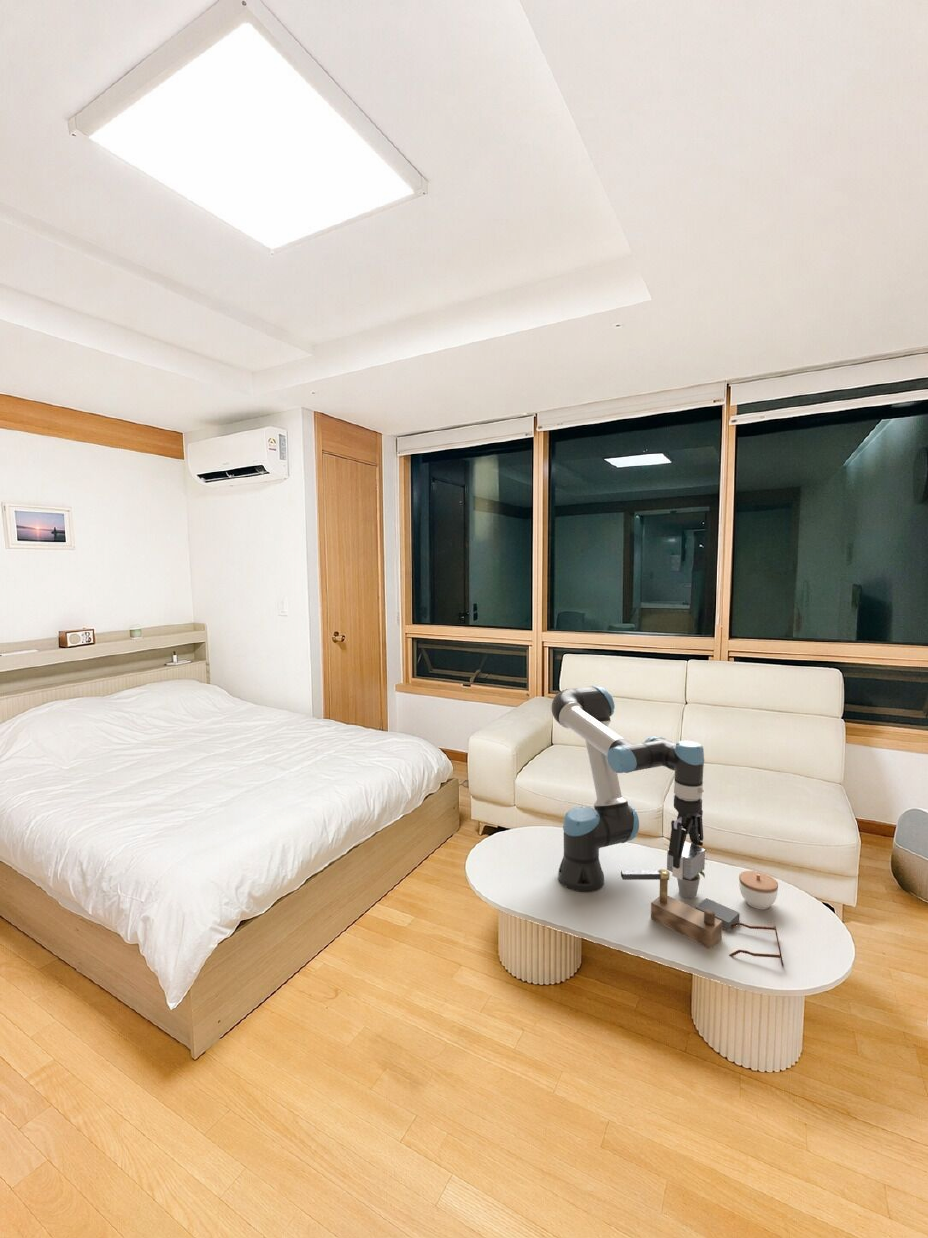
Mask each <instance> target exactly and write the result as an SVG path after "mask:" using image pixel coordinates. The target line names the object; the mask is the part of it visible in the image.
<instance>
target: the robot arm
mask: <svg viewBox="0 0 928 1238" xmlns="http://www.w3.org/2000/svg"><path fill="white" fill-rule="evenodd" d="M550 709H551V713H552V716H553V718H554V720H555V721H556V722H557V723H558V724H559V725H560V726H561V727H563V728H564V729H570V730H571V731H573V732H574V733H576V734H577V735H578V736H579V737H581V738H582V739H584V740H585V744H586V750H587V754H588V755H587V756H588V759H589V764H590V769H591V775H592V781H593V786H594V790H595V791H594V792H595V795H596V800H595V802H594V803H593V807H589V806H585V807H584V806H577V807H574V808H571V809H570V810H568V811H567V812H566V813H565V815H564V818H563V826H562V828H563V857H562V859H561V863H560V865H559V868H558V876H557V877H558V881H559V882H560V884H561V885H562V886H563V887H565V888H567V889H570V890H573V891H574V892H575V891H576V892H582V893H586V892H587V893H588V892H594V891H598V890H599V889H601V888H603V886H604V884H605V874H604V871H603V869H602V865H601V862H600V853H599V852H600V849H601V848H605V847H609V846H614V845H617V844H625V843H627V842H629V841H632V840H634V839H635V838H636V837H637V835H638V834H639V831H640V819H639V815H638V813H637V811H636V810H635V808H634V807H633V806H632V805H630V804H629V802H628V799H626V798H625V797H624V796H623V795H622V790H621V786H620V781H619V780H620V779H619V776H618V774H623V773H625V774H626V773H627V774H628V773H632V772H637V771H641V770H642V771H643V770H647V769H654V768H658V767H665V768H667V769H669V770H671V771H674V779H673V780H674V785H673V794H674V795H673V808H674V809H675V810H676V811H677V816H676V820H673V819H672V820H671V822H670V824H671V830H670V836H669V837H670V838H669V844H668V845H669V846H668V849H669V852H668V854H669V855H670V856H673V871H672V872H671V873H672V877H675V878H676V879H677V878H678V879H681V880H682V879H683V857H682V852H683V848H684V844H685V842H686V839H687V836H689V840H690V842H689V843H690V844H693V845H695V846H698V847H703V845H704V842H703V841H704V826H703V812H704V811H703V793H704V788H703V784H704V767H705V765H704V763H705V753H704V747H703V745H702V744H701V743H699V742H696V741H691V740H679V741H677V742H673V741H670V740H668V739H666V738H663V737H660V736H657V735H652V736H649V737H648V738H647V739H646V740H645V741H644V742H638V743H631V742H630V741H628V740H626V739H625V738H624V737H623V736H621V735H619V733H617V732H615V731H613V730H612V729H611V728H610V727H609V725H610V723H611V721H612V720H611V717H612V716H613V715H614V712H615V711H614V710H615V701H614V699H613V696H612V694H611V693H610V691H609V690H607V689H606V688H604V687H603V686H594V685H592V686H586V687H577V688H568V689H567V688H566V689H564V690H563V689H562V690H561V691H559V692H558V693H557V694H556V695H555V696H554V697H553V700H552V703H551V708H550Z"/></svg>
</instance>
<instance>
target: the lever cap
mask: <svg viewBox="0 0 928 1238" xmlns="http://www.w3.org/2000/svg"><path fill="white" fill-rule="evenodd" d="M690 843H691V842H688V841H685V844H684V848H683V852H682V857H683V877H684V878H687V879H689V880H691V879H692V878H693V877H695V876H696V875H697V874H699V875H700V872H701V871H702V872H704V871H705V865H706V863H705V862H706V861H705V860H706V859H705V858H706V851H705V849H706V848H705V849H704V848H703V847H701V846H699V847H698V846H695V845H693V844H690ZM666 852H667V859H666V870H667V871H669V872H671V873H672V871H673V856H670V855H669V854H668V852H669V848H668V849H667V851H666ZM703 870H704V871H703Z"/></svg>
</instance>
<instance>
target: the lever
mask: <svg viewBox="0 0 928 1238" xmlns="http://www.w3.org/2000/svg"><path fill="white" fill-rule="evenodd" d="M670 875H671V874H670V871H669V870H667V869H662V868H661V869H659V870H656V869H655V870H621V871H620V877H621V879H622V880H624V881H627V880H635V881H636V880H639V881H640V880H643V881H644V880H645V881H648V880H649V881H650V880H652V881H653V880H658V881H660V880H664V881H667V880H668V881H670Z"/></svg>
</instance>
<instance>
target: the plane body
mask: <svg viewBox="0 0 928 1238" xmlns="http://www.w3.org/2000/svg"><path fill="white" fill-rule="evenodd" d="M668 882H669V880H667V881H664V880H659V896H658V897H657V898H655V899H654V900H652V901H651V903H650V919H651V920H653V921H655V922H657V923H659V924H660V925H663V926H665V927H667V928H668V929H671V930H672V931H674V932H676V933H679V934H680V935H682V936H684V937H686V938H688V939H690V940H692V941H694V942H696V943H698V944H700V945H701V946H704V947H706V948H707V949H710V950H711V949H712V948H713V947H714V946H715V945H716V944H717V943H718V942H719V941H720V940H721V939H722V936H723V928H722V921H721V920H719V919H717V918H715V913H714V912H713V911H711V910H705V911H704V912H702V911H700V910H697V909H695V908H696V907H693V906H691V905H689V904H686V903H685V902H682V901H680V900H678V899H676V898H674V897H673V896H670V895H668V889H669V888H668V886H669V885H668Z"/></svg>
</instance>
